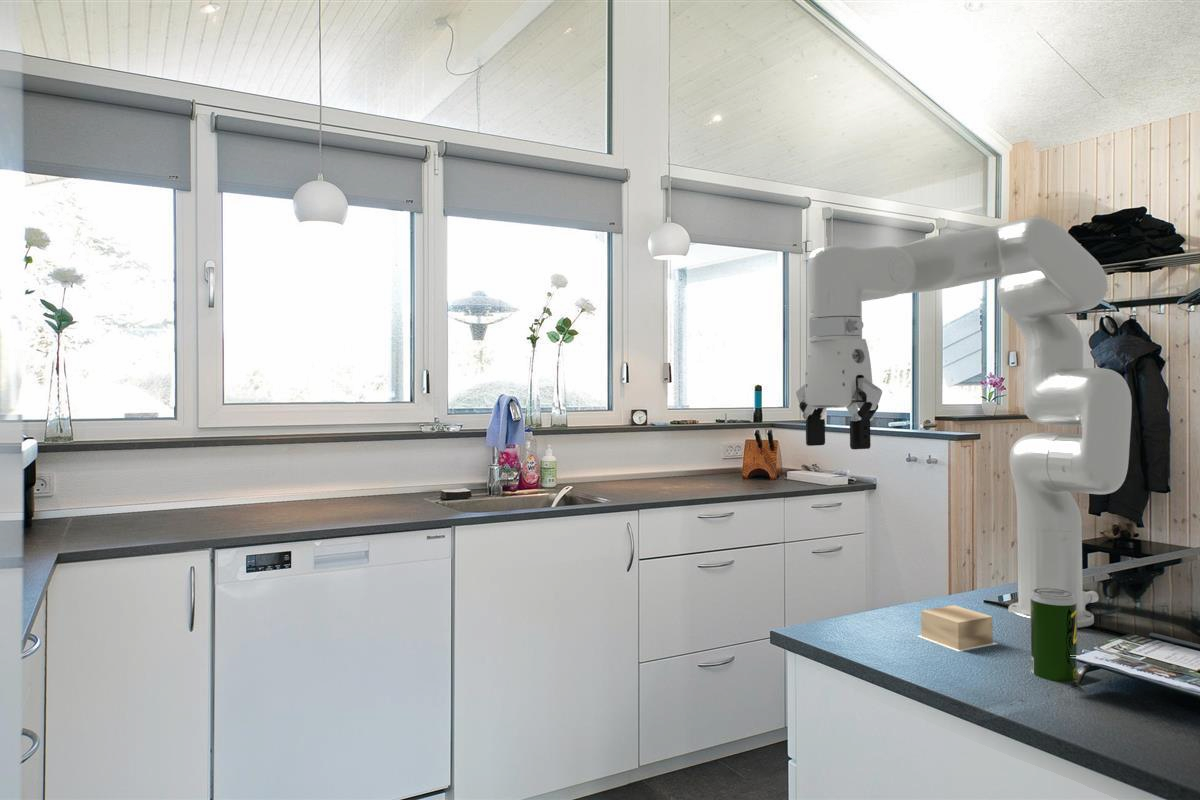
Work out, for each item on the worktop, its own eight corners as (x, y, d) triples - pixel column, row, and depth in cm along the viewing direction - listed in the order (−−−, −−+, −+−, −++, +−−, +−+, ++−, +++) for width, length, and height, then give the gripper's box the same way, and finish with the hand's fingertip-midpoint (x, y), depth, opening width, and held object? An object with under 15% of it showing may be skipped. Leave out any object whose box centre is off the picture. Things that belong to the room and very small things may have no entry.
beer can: (1036, 687, 100) (1035, 596, 100) (1027, 673, 106) (1025, 586, 106) (1083, 691, 99) (1082, 598, 99) (1071, 676, 104) (1070, 588, 104)
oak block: (954, 630, 122) (954, 605, 122) (992, 643, 115) (992, 616, 115) (921, 636, 119) (921, 610, 119) (958, 649, 112) (958, 622, 112)
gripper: (898, 326, 107) (900, 449, 107) (817, 336, 122) (819, 443, 123) (856, 325, 104) (858, 451, 104) (778, 335, 120) (780, 445, 120)
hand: (837, 447), depth 113 cm, fingers open, 9 cm apart
